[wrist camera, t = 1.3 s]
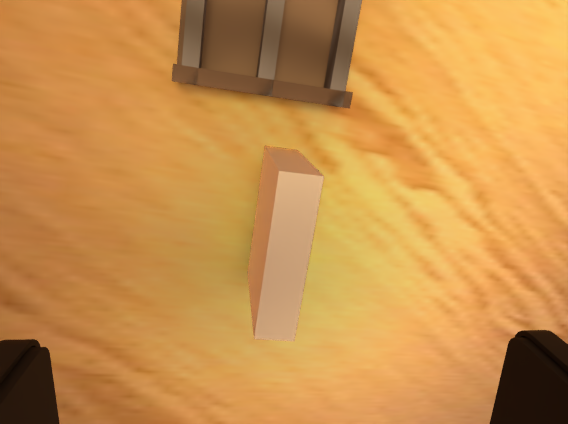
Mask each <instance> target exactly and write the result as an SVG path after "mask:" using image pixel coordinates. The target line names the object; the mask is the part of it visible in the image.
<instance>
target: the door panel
mask: <svg viewBox="0 0 568 424" xmlns="http://www.w3.org/2000/svg"><path fill="white" fill-rule="evenodd" d="M323 179H324V176H323V175H322V174H321V173H320V172H319V171H318V170H317V169H316V168H315V167H314V166H313V165H312V164H311V163H310V162H309V161H308V160H307V159H306V158H305V157H304V156H303V155H302V154H301V153H300V152H299V151H298V150H293V149H286V148H278V147H271V146H265V149H264V156H263V163H262V171H261V178H260V185H259V192H258V200H257V207H256V214H255V222H254V229H253V236H252V244H251V251H250V258H249V265H248V283H249V293H250V303H251V313H252V323H253V333H254V339H263V340H280V341H295V335H296V330H297V324H298V319H299V313H300V308H301V302H302V296H303V291H304V285H305V280H306V274H307V269H308V263H309V257H310V252H311V246H312V241H313V235H314V230H315V224H316V218H317V213H318V207H319V202H320V196H321V190H322V185H323Z"/></svg>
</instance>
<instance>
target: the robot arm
mask: <svg viewBox="0 0 568 424" xmlns="http://www.w3.org/2000/svg"><path fill="white" fill-rule="evenodd" d="M0 424H59V417H58V410H57V403H56V396H55V388H54V381H53V374H52V367H51V360H50V353H49V350H48V348H46V347H40V344H39V342H38V341H37V340H35V339H31V340H3V341H0ZM490 424H568V344H567V343H565V342H564V341H563V340H562V339H560V338H559V337H558V336H557V335H555V334H554V333H552V332H551V331H547V330H528V331H520V332H518V333H517V334H516V335H515V338H512V339H511V340H510V341H509V344H508V347H507V352H506V356H505V360H504V364H503V369H502V373H501V377H500V382H499V386H498V390H497V395H496V399H495V403H494V407H493V412H492V416H491V420H490Z"/></svg>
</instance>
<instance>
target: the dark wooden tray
mask: <svg viewBox="0 0 568 424" xmlns="http://www.w3.org/2000/svg"><path fill="white" fill-rule="evenodd" d="M361 3H362V0H182V6H181V19H180V32H179V45H178V58H177V64H173V72H172V81H174V82H180V83H187V84H193V85H200V86H207V87H213V88H220V89H226V90H233V91H239V92H246V93H252V94H259V95H265V96H272V97H278V98H285V99H291V100H298V101H304V102H311V103H318V104H324V105H331V106H337V107H344V108H350V105H351V99H352V94H353V92H347V91H345V90H346V85H347V79H348V74H349V68H350V63H351V57H352V52H353V46H354V41H355V35H356V30H357V25H358V19H359V14H360V8H361Z"/></svg>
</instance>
